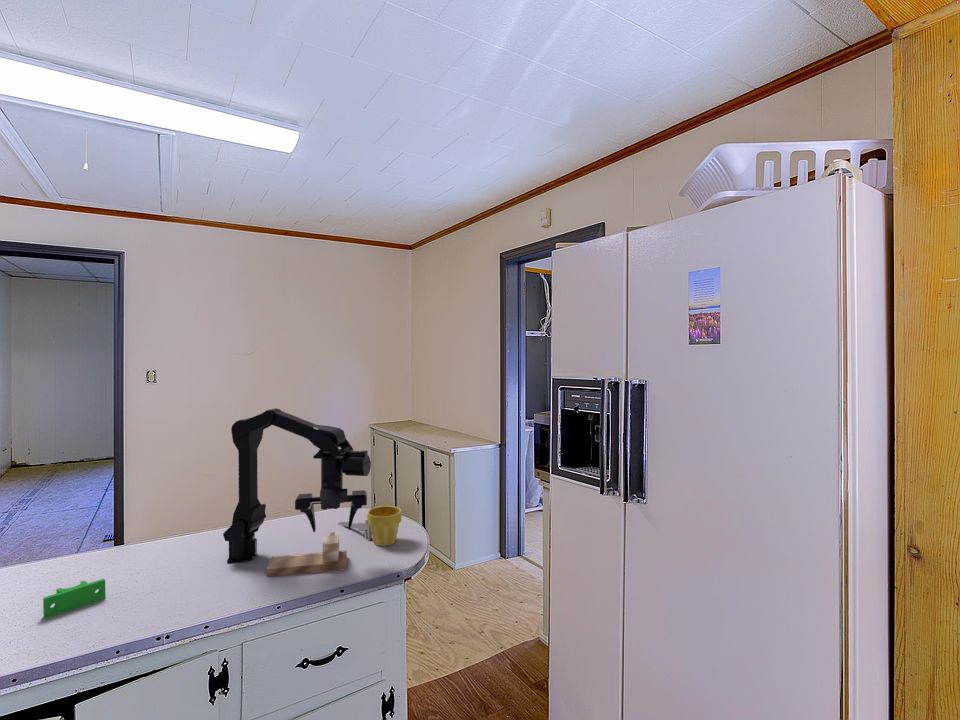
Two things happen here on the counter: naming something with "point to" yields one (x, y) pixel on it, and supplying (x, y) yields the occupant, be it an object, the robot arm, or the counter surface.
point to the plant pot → (384, 524)
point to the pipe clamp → (73, 597)
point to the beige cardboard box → (331, 548)
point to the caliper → (360, 527)
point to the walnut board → (304, 564)
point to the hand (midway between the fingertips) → (332, 530)
